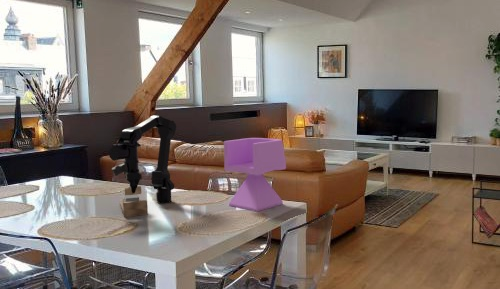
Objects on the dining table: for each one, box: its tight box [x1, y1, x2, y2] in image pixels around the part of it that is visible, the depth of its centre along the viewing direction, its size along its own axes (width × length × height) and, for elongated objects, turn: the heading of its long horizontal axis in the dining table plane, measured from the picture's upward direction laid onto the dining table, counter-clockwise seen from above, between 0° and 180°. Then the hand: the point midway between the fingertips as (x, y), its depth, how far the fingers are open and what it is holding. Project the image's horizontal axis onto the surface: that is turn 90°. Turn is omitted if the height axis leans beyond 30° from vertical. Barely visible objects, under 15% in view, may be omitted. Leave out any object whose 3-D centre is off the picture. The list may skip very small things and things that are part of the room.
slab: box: [122, 192, 140, 202], centre depth 230 cm, size 6×12×2 cm, turn 19°
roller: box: [123, 185, 142, 195], centre depth 221 cm, size 7×4×4 cm, turn 109°
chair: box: [223, 137, 287, 213], centre depth 227 cm, size 20×20×30 cm
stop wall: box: [122, 199, 149, 218], centre depth 215 cm, size 10×2×6 cm, turn 109°
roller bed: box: [119, 197, 142, 216], centre depth 225 cm, size 10×22×4 cm, turn 19°
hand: (133, 192), depth 221 cm, fingers closed on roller, 3 cm apart
